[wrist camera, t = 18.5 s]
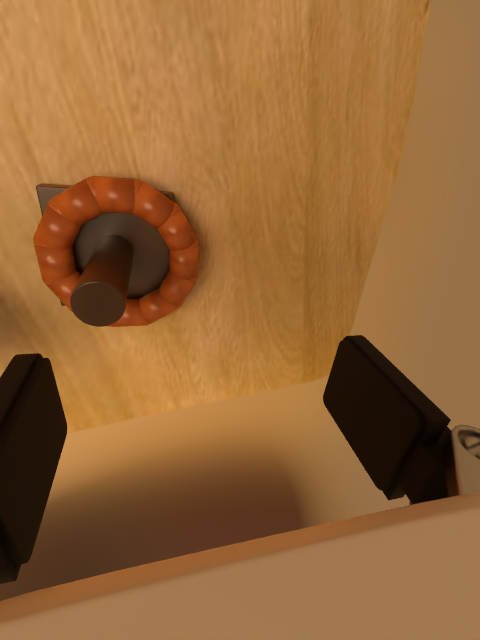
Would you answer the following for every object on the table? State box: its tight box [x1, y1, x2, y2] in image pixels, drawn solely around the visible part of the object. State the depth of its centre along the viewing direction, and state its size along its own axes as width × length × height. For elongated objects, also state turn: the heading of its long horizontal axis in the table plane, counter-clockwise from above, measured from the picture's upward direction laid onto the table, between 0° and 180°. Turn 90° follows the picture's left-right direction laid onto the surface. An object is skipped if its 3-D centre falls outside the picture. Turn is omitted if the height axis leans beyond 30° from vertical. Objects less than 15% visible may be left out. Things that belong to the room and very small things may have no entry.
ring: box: [33, 176, 199, 327], centre depth 20 cm, size 10×10×2 cm
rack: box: [36, 184, 174, 326], centre depth 18 cm, size 8×8×9 cm
